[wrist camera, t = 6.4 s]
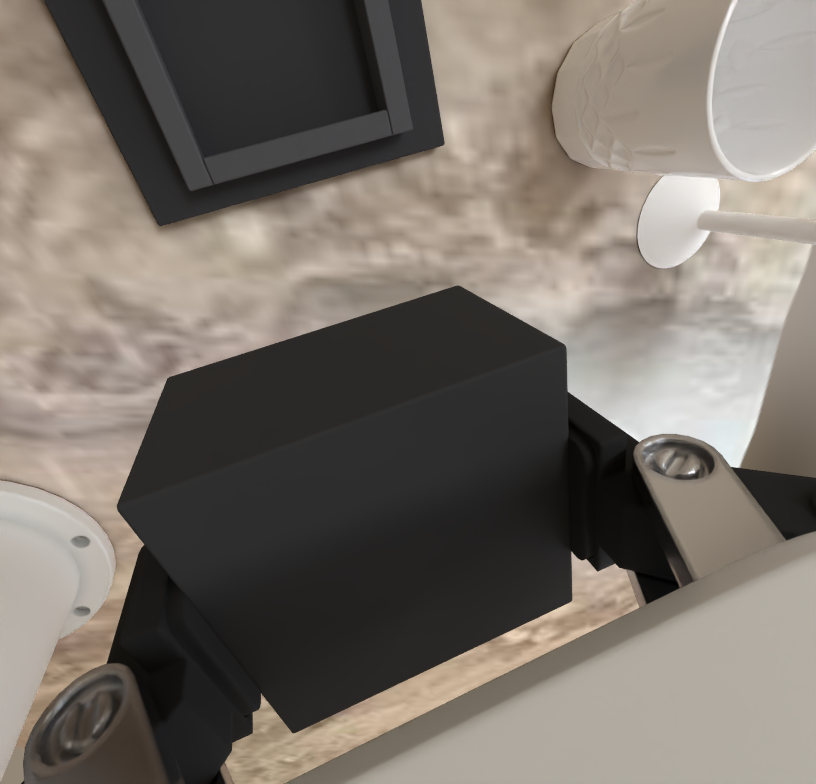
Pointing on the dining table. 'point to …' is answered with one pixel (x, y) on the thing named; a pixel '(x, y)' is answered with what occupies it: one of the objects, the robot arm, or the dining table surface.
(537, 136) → the dining table surface
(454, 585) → the black pad
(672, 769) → the robot arm
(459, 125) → the dining table surface
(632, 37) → the white cup
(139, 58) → the base pad
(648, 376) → the dining table surface
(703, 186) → the champagne flute
